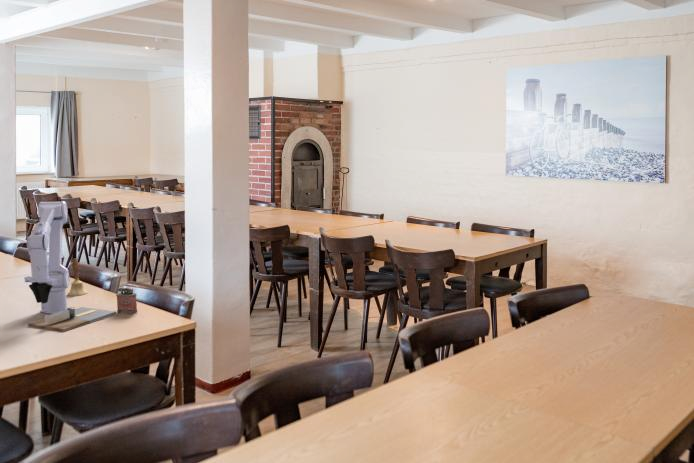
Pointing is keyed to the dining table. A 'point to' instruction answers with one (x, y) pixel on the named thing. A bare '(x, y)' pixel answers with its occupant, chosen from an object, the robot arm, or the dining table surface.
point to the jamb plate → (60, 324)
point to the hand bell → (76, 282)
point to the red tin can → (126, 301)
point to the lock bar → (60, 316)
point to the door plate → (92, 314)
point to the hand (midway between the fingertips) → (42, 302)
